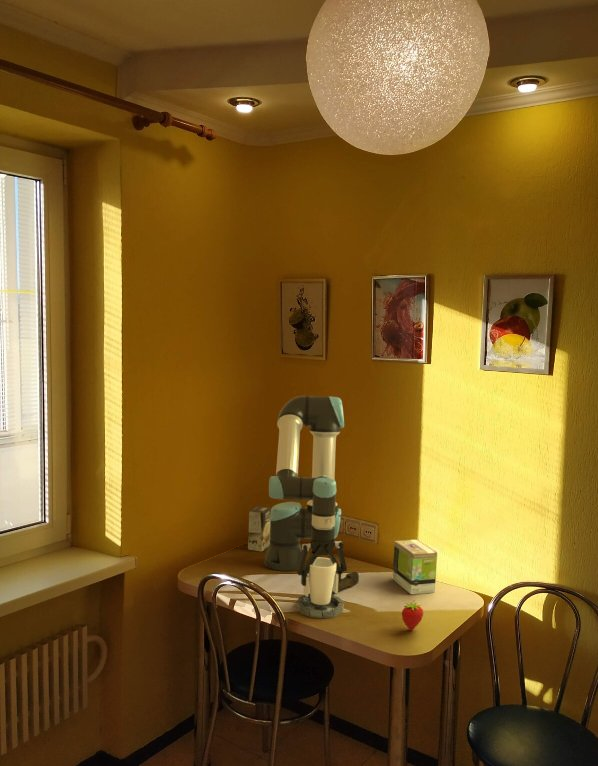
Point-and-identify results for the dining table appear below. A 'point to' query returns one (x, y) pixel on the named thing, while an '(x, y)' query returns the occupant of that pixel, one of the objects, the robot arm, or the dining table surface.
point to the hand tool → (348, 581)
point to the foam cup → (321, 580)
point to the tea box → (414, 566)
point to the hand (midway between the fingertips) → (320, 593)
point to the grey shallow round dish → (320, 607)
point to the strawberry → (412, 615)
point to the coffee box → (259, 528)
